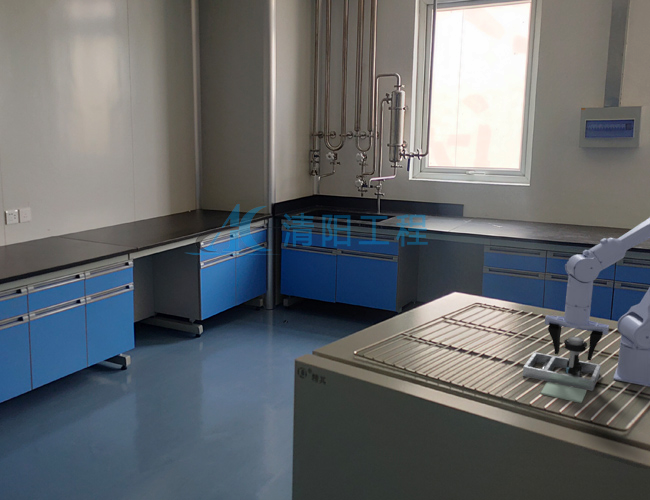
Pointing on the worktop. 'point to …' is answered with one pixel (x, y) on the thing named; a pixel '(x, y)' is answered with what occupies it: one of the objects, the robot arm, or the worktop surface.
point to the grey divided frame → (559, 377)
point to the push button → (574, 354)
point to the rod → (544, 365)
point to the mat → (564, 392)
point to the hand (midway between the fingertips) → (573, 356)
